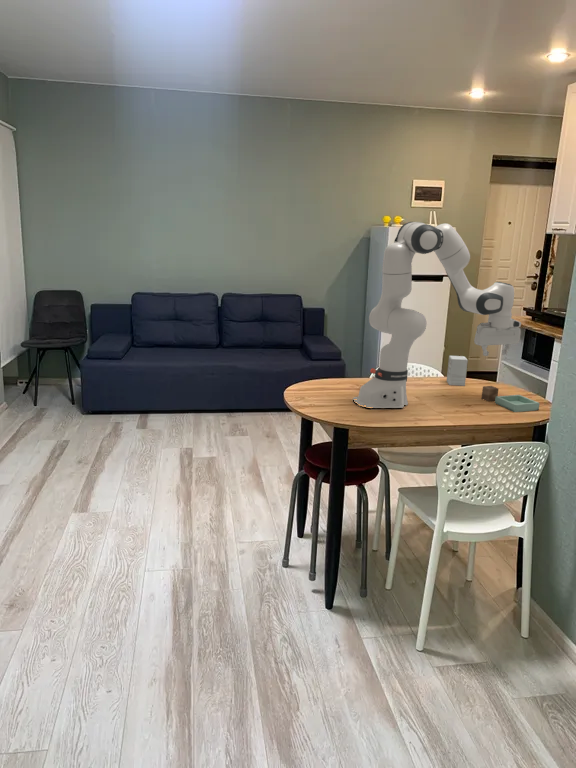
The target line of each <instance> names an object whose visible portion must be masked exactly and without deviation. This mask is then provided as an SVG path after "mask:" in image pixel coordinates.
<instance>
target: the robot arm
mask: <svg viewBox="0 0 576 768" xmlns="http://www.w3.org/2000/svg"><path fill="white" fill-rule="evenodd" d="M433 252H434V253H435V255H436V257H437V258H438V260H439V261H440V264H441V265H442V267H443V268H444V271H445V273H446V276H447V277H448V279H449V282H450V284H451V285H452V287H453V289H454V291H455V294H456V299H457V304H458V306H459V308H460V309H461V310H462V311H464V312H468V313H473V314H477V315H482V316H486V315H487V316H488V320H487V322H481V323H479V324H478V325H477V327H476V331H475V336H474V341H473V342H474V344H475V345H476V346H480V347H481V349H482V356H484V357H488V356H489V354H490V351H488V346H499V345H502V346H503V345H504V346H505V347H504V349H501V355H503V356H507V355H508V352H509V351H510V349H511V348H512V345H518V344H519V342H520V340H521V331H522V330H521V326H522V322H521V321H519V320H516V319H514V318H512V317H513V316H512V310H513V307H514V301H515V300H514V299H515V288H514V287H515V286H513V284H511V283H506V282H501V281H496V282H494V283H493V284H492V285H490V286H489V287H486V288H484V289H479V288H476V287H474V286H472V285H471V283H470V282H469V280H468V277H467V276H466V273H465V271H464V269H465V268H466V267H467V266H468V265H469V263H470V260H471V253H470V251H469V248H468V247H467V244H466V242H464V240H463V238H462V236H461V235H460V234H459V233H458V231H457V230H456V229H455V228H454V227H453V226H452V225H451V224H450V223H447V222H446V223H440V224H438V225H436V226H434V225H431V224H427V223H424V222H422V221H409V222H406V223H404V224H403V225H401V226H400V228H399V229H398V232H397V235H396V237H395V238H394V241H393V242H392V243H390V244H388V245H387V246H386V247H385V249H384V252H383V259H382V284H381V286H382V287H381V288H382V289H381V295H380V298H379V301H378V302H377V305H375V306H374V307H373V308H372V309H371V311H370V313H369V316H368V322H369V325H370V327H372V328H373V329H374V330H376V331H378V332H381V333H384V334H389V335H391V338H390V341H389V342H388V343H387V344H385V345H384V346H383V347H381V349H380V353H379V364H378V365H379V366H378V368H377V369H375V368H373V367H372V368H371V369H370V370H369V371H370V373H371V374H373V375H374V377H372V378H371V379H370V380H368V381H367V382H365V383H364V384H363V385H361V386H360V388H359V393H358V396H354V397H352V401H353V400H354V399H357V400H354V401H355V402H357V403H358V404H360V405H363V406H364V405H366V407H373V408H403V407H404V408H405V406H404V405H406V406H408V404H409V403H408V396H407V381H408V373H409V370H408V361H409V357H410V355H409V354H410V350H411V347H412V345H413V344H414V342H415V341H416V340H417V339H418V338H420V337H421V336H422V335H424V333H425V331H426V329H427V325H428V324H427V318H426V316H425V315H424V314H423V313H422V312H421V313H420V312H419V311H417V310H414V309H410V308H405V307H402V303H403V299H405V298H407V297H408V296H409V295H410V294H411V292H412V285H413V284H412V283H413V282H412V278H413V277H412V276H413V275H412V274H413V272H412V271H413V268H412V267H413V266H412V265H413V264H412V262H413V259H414V256H415V255H416V254H422V255H425V254H431V253H433ZM404 408H403V409H404Z"/></svg>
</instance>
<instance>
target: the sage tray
mask: <svg viewBox="0 0 576 768" xmlns="http://www.w3.org/2000/svg"><path fill="white" fill-rule="evenodd" d="M495 403H496V404H495ZM494 404H495V405H497V404H498V406H499V405H500V407H502V408H504V409H506V410H507V411H508V410H509V411H511V412H513V413H520V412H522V413H523V412H531V411H532V412H533V411H539V410H540V404H541V403H540V402H539V401H536V400H533V399H531V398H528V397H526V396H524V395H521V394H513V395H512V394H511V395H498V396H496V398H495V401H494Z"/></svg>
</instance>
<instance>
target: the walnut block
mask: <svg viewBox="0 0 576 768" xmlns="http://www.w3.org/2000/svg"><path fill="white" fill-rule="evenodd" d="M496 396H499V388H498V387H495V386H493V385H485V386H482V392H481V397H480V399H481V400H483V399H484V400H483V401H485V400H486V401H485V402H487V401H491V402H495V398H496Z"/></svg>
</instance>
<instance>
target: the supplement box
mask: <svg viewBox="0 0 576 768" xmlns="http://www.w3.org/2000/svg"><path fill="white" fill-rule="evenodd" d="M468 362H469V359H467V357H466V356H463V355H460V356H459V355H448V363H447V365H448V366H447V373H446V383H447V384H448V385H449V386H458V387H459V386H462V387H465V386H466V380H467V379H466V378H467V368H468Z"/></svg>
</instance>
